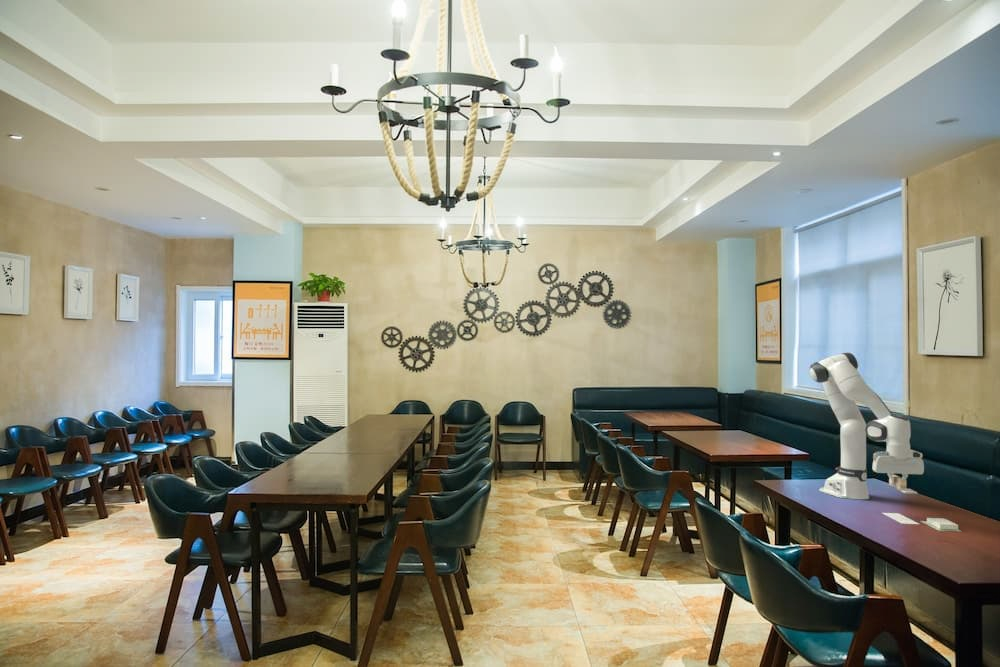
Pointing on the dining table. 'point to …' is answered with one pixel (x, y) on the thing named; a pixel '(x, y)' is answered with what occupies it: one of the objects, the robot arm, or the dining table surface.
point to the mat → (936, 527)
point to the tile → (942, 523)
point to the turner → (901, 485)
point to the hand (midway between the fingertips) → (897, 483)
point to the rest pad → (900, 518)
